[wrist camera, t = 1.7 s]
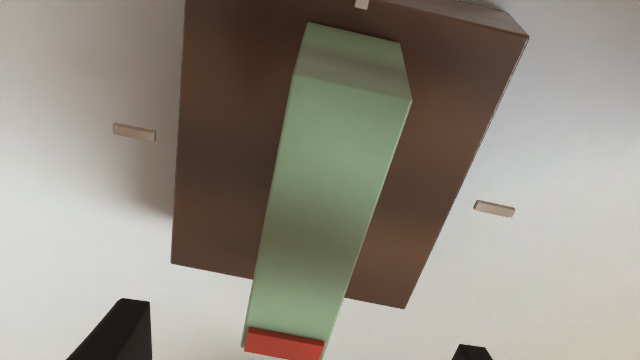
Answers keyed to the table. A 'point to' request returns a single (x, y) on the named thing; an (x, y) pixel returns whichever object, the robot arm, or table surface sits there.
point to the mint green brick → (324, 187)
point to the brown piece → (268, 116)
